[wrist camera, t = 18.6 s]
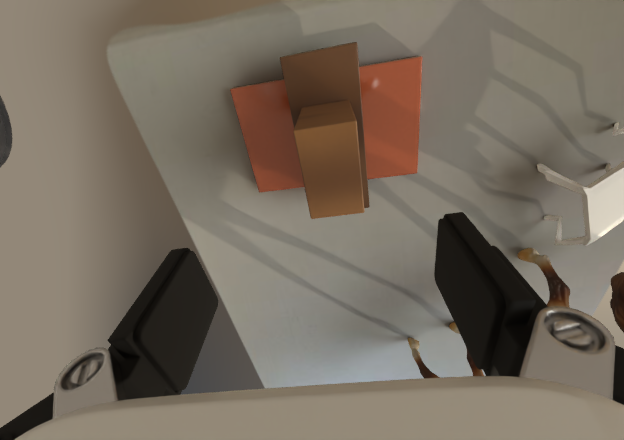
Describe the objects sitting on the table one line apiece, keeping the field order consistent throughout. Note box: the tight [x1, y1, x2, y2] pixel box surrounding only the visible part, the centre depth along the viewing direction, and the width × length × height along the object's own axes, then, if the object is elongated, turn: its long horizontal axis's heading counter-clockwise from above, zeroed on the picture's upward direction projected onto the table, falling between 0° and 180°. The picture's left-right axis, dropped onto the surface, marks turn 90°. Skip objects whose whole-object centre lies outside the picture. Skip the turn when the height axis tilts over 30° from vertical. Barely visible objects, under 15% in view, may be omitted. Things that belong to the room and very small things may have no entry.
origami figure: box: [537, 123, 624, 245], centre depth 26 cm, size 12×8×5 cm
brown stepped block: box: [280, 42, 369, 219], centre depth 22 cm, size 13×5×10 cm, turn 10°
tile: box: [230, 56, 422, 192], centre depth 26 cm, size 16×10×1 cm, turn 99°
